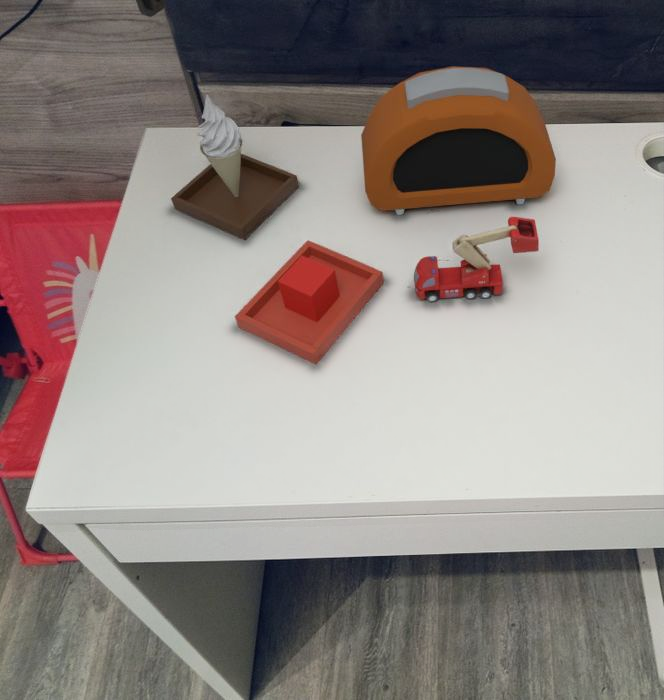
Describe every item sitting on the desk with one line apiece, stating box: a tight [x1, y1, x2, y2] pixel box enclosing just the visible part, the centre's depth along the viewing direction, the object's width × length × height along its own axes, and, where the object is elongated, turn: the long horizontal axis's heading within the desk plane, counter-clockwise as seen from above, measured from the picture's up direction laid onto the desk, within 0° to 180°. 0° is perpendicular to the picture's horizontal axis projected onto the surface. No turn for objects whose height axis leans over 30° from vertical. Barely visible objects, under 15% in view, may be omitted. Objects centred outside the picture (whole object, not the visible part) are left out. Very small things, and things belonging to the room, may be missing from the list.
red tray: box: [234, 239, 385, 365], centre depth 88 cm, size 14×11×2 cm
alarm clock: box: [360, 66, 557, 216], centre depth 94 cm, size 23×9×17 cm, turn 97°
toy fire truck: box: [413, 216, 540, 303], centre depth 86 cm, size 3×14×10 cm, turn 95°
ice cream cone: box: [196, 94, 243, 197], centre depth 93 cm, size 5×5×15 cm
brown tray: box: [170, 153, 300, 241], centre depth 98 cm, size 11×11×2 cm
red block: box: [278, 256, 340, 322], centre depth 86 cm, size 4×4×4 cm
